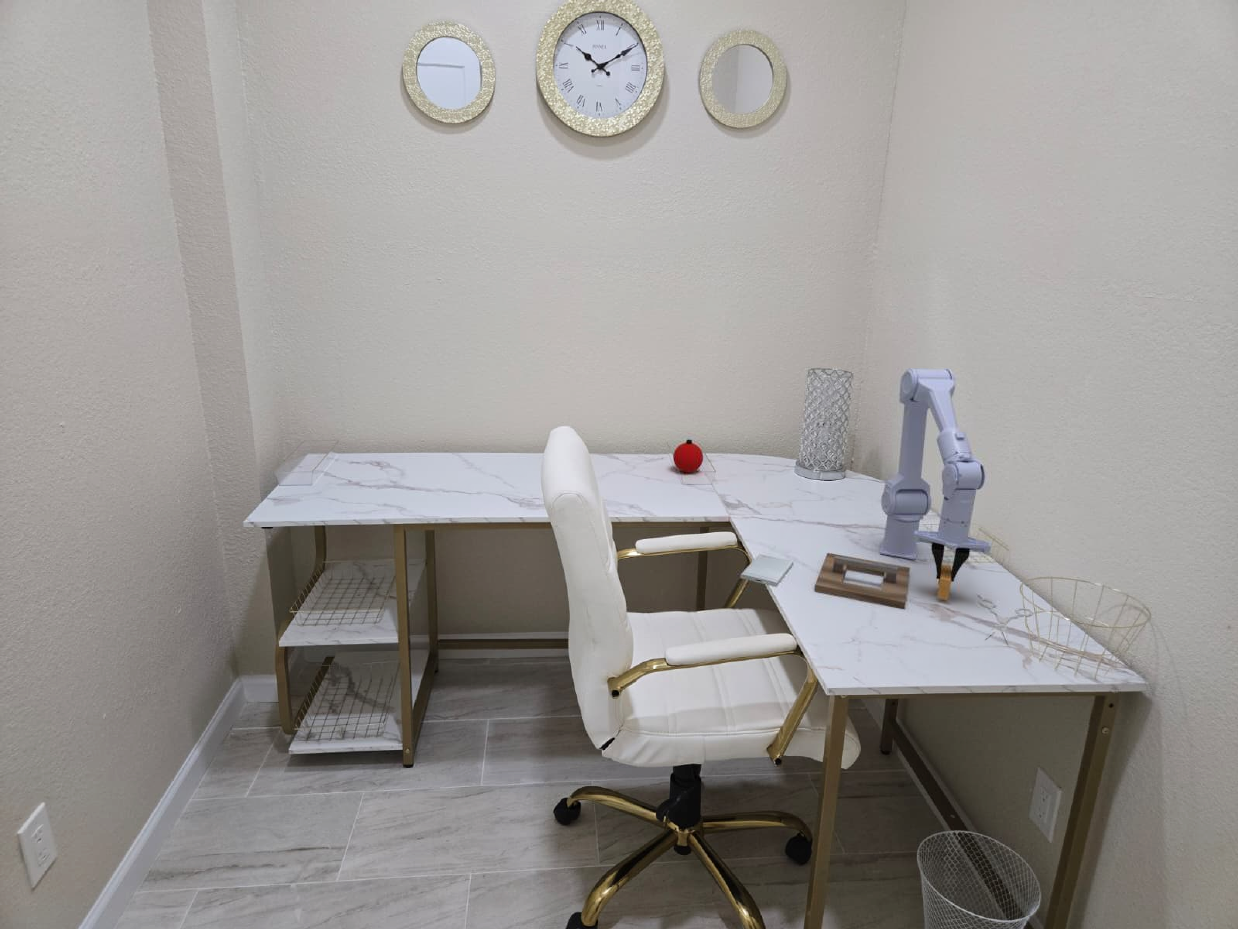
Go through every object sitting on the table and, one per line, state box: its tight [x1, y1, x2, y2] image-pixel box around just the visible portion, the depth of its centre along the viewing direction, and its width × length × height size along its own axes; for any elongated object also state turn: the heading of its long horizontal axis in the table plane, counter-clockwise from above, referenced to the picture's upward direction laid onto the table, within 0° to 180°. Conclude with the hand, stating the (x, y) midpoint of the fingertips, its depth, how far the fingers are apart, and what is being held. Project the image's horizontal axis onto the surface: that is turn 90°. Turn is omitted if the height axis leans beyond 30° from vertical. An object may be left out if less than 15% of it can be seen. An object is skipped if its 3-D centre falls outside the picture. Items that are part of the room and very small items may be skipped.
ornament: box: [672, 438, 704, 473], centre depth 238 cm, size 9×9×10 cm
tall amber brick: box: [936, 563, 952, 601], centre depth 166 cm, size 8×2×4 cm, turn 158°
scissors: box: [977, 594, 1034, 637], centre depth 157 cm, size 11×1×20 cm
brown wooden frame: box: [814, 552, 911, 610], centre depth 171 cm, size 18×18×2 cm
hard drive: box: [739, 554, 794, 588], centre depth 175 cm, size 2×8×12 cm
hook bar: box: [833, 556, 898, 584], centre depth 170 cm, size 2×13×3 cm, turn 68°
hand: (944, 578), depth 166 cm, fingers closed on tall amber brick, 2 cm apart
